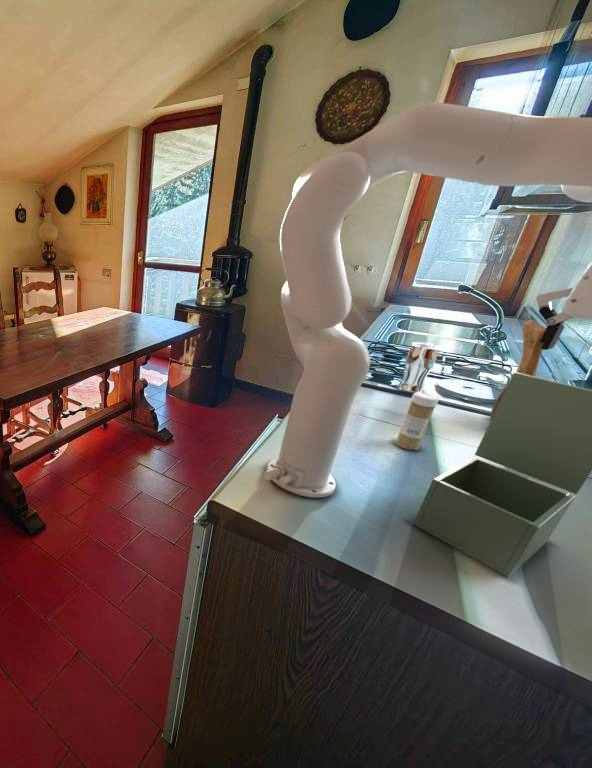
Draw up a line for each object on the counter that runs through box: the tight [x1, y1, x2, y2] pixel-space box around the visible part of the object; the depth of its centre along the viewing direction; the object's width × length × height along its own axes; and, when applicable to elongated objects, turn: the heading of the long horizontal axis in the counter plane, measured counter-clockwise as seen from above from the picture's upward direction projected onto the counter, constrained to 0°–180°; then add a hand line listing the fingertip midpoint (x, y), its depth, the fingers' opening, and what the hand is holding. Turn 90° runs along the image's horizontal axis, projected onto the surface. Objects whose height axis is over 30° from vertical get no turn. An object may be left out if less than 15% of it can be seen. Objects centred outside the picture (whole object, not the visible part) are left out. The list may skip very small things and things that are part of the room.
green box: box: [412, 456, 576, 578], centre depth 66 cm, size 16×13×10 cm
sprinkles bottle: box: [395, 391, 440, 451], centre depth 92 cm, size 5×5×14 cm
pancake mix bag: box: [489, 318, 547, 423], centre depth 99 cm, size 7×19×28 cm, turn 135°
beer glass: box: [397, 342, 440, 394], centre depth 124 cm, size 7×7×15 cm
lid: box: [474, 371, 592, 495], centre depth 65 cm, size 16×13×5 cm
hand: (590, 357), depth 61 cm, fingers open, 9 cm apart
